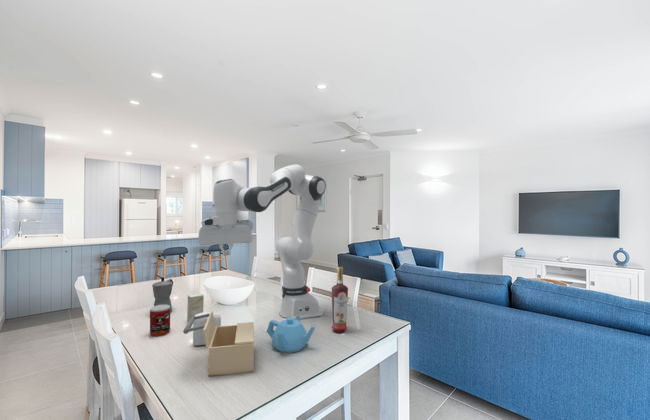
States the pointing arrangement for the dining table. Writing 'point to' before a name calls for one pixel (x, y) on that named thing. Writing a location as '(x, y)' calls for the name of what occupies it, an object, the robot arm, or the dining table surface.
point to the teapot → (289, 335)
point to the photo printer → (199, 334)
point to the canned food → (159, 320)
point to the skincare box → (194, 305)
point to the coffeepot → (163, 292)
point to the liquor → (339, 303)
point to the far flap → (207, 327)
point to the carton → (232, 349)
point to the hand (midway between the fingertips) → (226, 255)
